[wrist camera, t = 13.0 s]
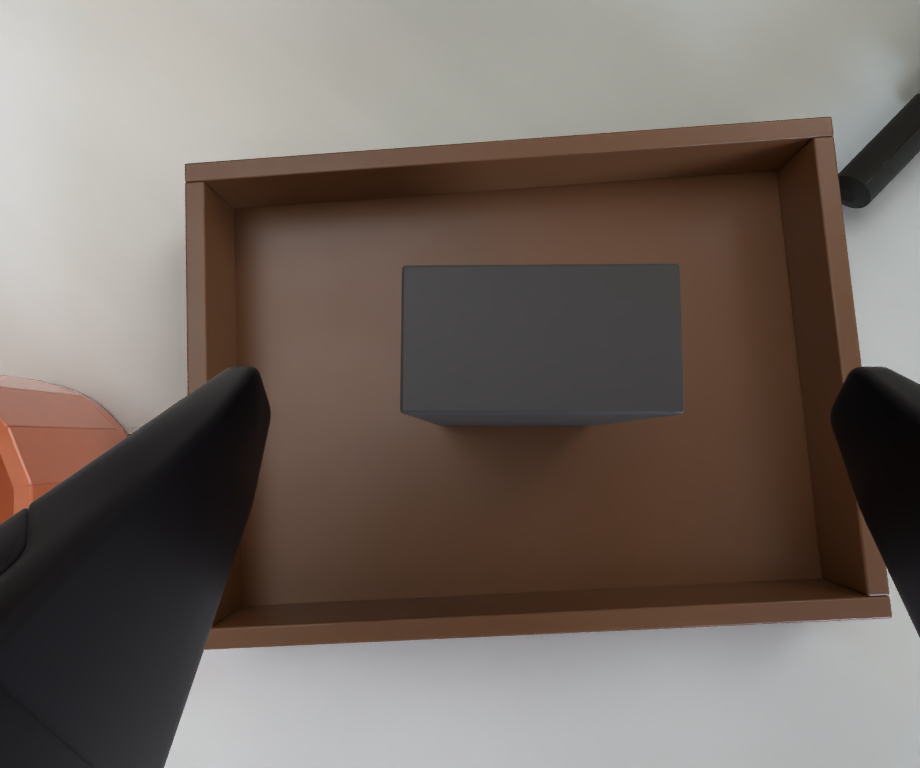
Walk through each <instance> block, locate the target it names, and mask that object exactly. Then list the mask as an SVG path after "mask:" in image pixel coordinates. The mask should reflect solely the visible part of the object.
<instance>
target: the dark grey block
mask: <svg viewBox="0 0 920 768" xmlns="http://www.w3.org/2000/svg"><path fill="white" fill-rule="evenodd" d="M400 411H401V413H403V414H406V415H409V416H412V417H415V418H418V419H421V420H424V421H427V422H430V423H433V424H437V425H440V426H594V425H602V424H610V423H618V422H625V421H633V420H641V419H649V418H657V417H665V416H672V415H680V414H683V412H684V388H683V356H682V324H681V292H680V267H679V264H537V265H406V266H403V268H402V306H401V379H400Z"/></svg>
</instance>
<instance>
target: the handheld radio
mask: <svg viewBox="0 0 920 768" xmlns="http://www.w3.org/2000/svg"><path fill="white" fill-rule="evenodd" d="M919 151H920V91H919V92H918V94H917V95H915V96H914V97H913V99H912V100H911V101H910V102H909V103H908V104H907V105H906V106H905V107H904V108H903V109H902V110H901V111H900V112H899V113H898V114H897V115H896V116H895V117H894V118H893V119H892V120H891V121H890V122H889V123H888V124H887V125H886V126H885V127H884V128H883V129H882V130H881V131H880V132H879V133H878V134H877V135H876V136H875V137H874V138H873V139H872V140H871V141H870V142H869V143H868V144H867V145H866V146H865V147H864V149H863V150H862V151H861V152H860V153H859V154H858V155H857V156H856V157H855V158H854V159H853V160H852V161H851V162H850V163H849V164H848V165H847V166H846V167H845V168H844V169H843V170H842V171H841V172H840V173H839V174H838V179H839V187H840V195H841V203H842V204H843V205H846V206H848V207H851V208H862V207H865V206H867V205H868V204H869V203H870V202H871V201H872V200H873V199H874V198H875V197H876V196H877V194H878V193H879V192H880V191H881V190H882V189H883V188H884V187H885V186H886V185H887V184H888V183H889V182H890V181H891V180H892V179H893V178H894V177H895V176H896V175H897V174H898V173H899V172H900V171H901V170H902V169H903V168H904V167H905V166H906V165H907V164H908V163H909V162H910V161H911V160H912V159H913V158H914V157H915V155H916V154H917V153H918V152H919Z"/></svg>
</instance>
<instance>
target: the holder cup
mask: <svg viewBox="0 0 920 768" xmlns="http://www.w3.org/2000/svg"><path fill="white" fill-rule="evenodd" d="M126 437H128V436H127V434H126V433H125V431H124V430H123V428H122V427H121V425H120V424H119V423H118V422H117V421H116V420H115V419H114V417H113V416H112V415H111V414H110V413H109V412H108V411H106V410H105V409H104V408H103V407H102V406H100V405H99V404H98V403H97V402H95V401H93V400H92V399H90V398H89V397H87V396H85V395H83V394H81V393H79V392H76V391H74V390H72V389H69V388H65V387H62V386H58V385H53V384H49V383H46V382H43V381H40V380H34V379H26V378H19V377H11V376H4V375H0V524H1V523H3V522H4V521H6V520H7V519H9V518H10V517H12V516H13V515H15V514H16V513H17V512H19V511H20V510H22V509H24V508H27V509H29V505H30V504H31V503H32V502H34V501H35V500H36V499H38V498H39V497H41V496H42V495H44V494H45V493H47V492H48V491H50V490H51V489H52V488H54V487H55V486H57V485H58V484H60V483H61V482H63V481H64V480H65V479H67V478H68V477H70V476H71V475H73V474H74V473H76V472H77V471H79V470H80V469H81V468H83V467H84V466H86V465H87V464H89V463H90V462H92V461H93V460H95V459H96V458H97V457H99V456H100V455H102V454H103V453H105V452H106V451H108V450H109V449H111V448H112V447H113V446H115V445H116V444H118V443H119V442H121V441H122V440H124V439H125V438H126Z"/></svg>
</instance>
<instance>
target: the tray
mask: <svg viewBox="0 0 920 768" xmlns="http://www.w3.org/2000/svg"><path fill="white" fill-rule="evenodd" d="M832 136H833V127H832V119H831V117H819V118H805V119H792V120H778V121H764V122H751V123H737V124H723V125H710V126H696V127H682V128H669V129H655V130H641V131H628V132H614V133H600V134H587V135H573V136H559V137H545V138H532V139H518V140H504V141H491V142H477V143H463V144H450V145H436V146H422V147H409V148H395V149H381V150H368V151H354V152H340V153H326V154H313V155H299V156H285V157H272V158H258V159H244V160H231V161H217V162H203V163H190V164H185V182H186V183H185V207H186V289H187V371H188V395H189V394H190V393H192V392H193V391H195V390H196V389H198V388H199V387H200V386H202V385H203V384H205V383H206V382H208V381H209V380H211V379H212V378H214V377H215V376H216V375H218V374H219V373H221V372H222V371H224V370H225V369H227V368H228V367H233V366H252V367H255V368H256V369H258V371H259V373H260V375H261V378H262V381H263V385H264V388H265V391H266V395H267V398H268V401H269V404H270V410H271V420H270V425H269V430H268V435H267V440H266V444H265V449H264V454H263V459H262V464H261V469H260V473H259V478H258V483H257V488H256V492H255V497H254V501H253V505H252V508H251V511H250V514H249V518H248V521H247V524H246V527H245V530H244V533H243V535H242V538H241V541H240V544H239V547H238V550H237V553H236V556H235V559H234V562H233V565H232V568H231V571H230V574H229V577H228V580H227V583H226V586H225V589H224V592H223V594H222V597H221V600H220V603H219V606H218V609H217V612H216V615H215V618H214V621H213V624H212V627H211V630H210V633H209V636H208V639H207V642H206V645H205V648H204V650H206V649H228V648H250V647H272V646H294V645H316V644H337V643H359V642H381V641H403V640H425V639H447V638H469V637H491V636H512V635H534V634H556V633H578V632H600V631H622V630H644V629H666V628H688V627H709V626H731V625H753V624H775V623H797V622H819V621H841V620H863V619H885V618H892V612H891V604H890V598H889V596H887V595H889V587H888V579H887V571H886V565H885V563H884V561H883V558H882V556H881V554H880V552H879V550H878V548H877V546H876V544H875V541H874V539H873V537H872V535H871V533H870V531H869V529H868V527H867V524H866V522H865V520H864V518H863V515H862V513H861V511H860V508H859V505H858V503H857V500H856V497H855V495H854V492H853V489H852V486H851V483H850V480H849V477H848V474H847V471H846V468H845V465H844V462H843V459H842V456H841V453H840V450H839V447H838V444H837V441H836V438H835V435H834V432H833V429H832V426H831V422H830V412H831V408H832V405H833V403H834V401H835V399H836V397H837V395H838V393H839V391H840V389H841V387H842V385H843V383H844V381H845V379H846V377H847V375H848V374H849V372H850V371H851V370H853V369H854V368H857V367H861V359H860V351H859V342H858V334H857V326H856V318H855V310H854V302H853V293H852V285H851V277H850V269H849V261H848V252H847V244H846V236H845V228H844V220H843V212H842V203H841V195H840V187H839V179H838V171H837V163H836V154H835V146H834V138H833V137H832ZM537 264H679V267H680V292H681V324H682V356H683V388H684V412H683V414H680V415H672V416H665V417H657V418H649V419H641V420H633V421H625V422H618V423H610V424H602V425H594V426H440V425H437V424H433V423H430V422H427V421H424V420H421V419H418V418H415V417H412V416H409V415H406V414H403V413H401V411H400V379H401V306H402V268H403V266H406V265H537Z"/></svg>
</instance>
